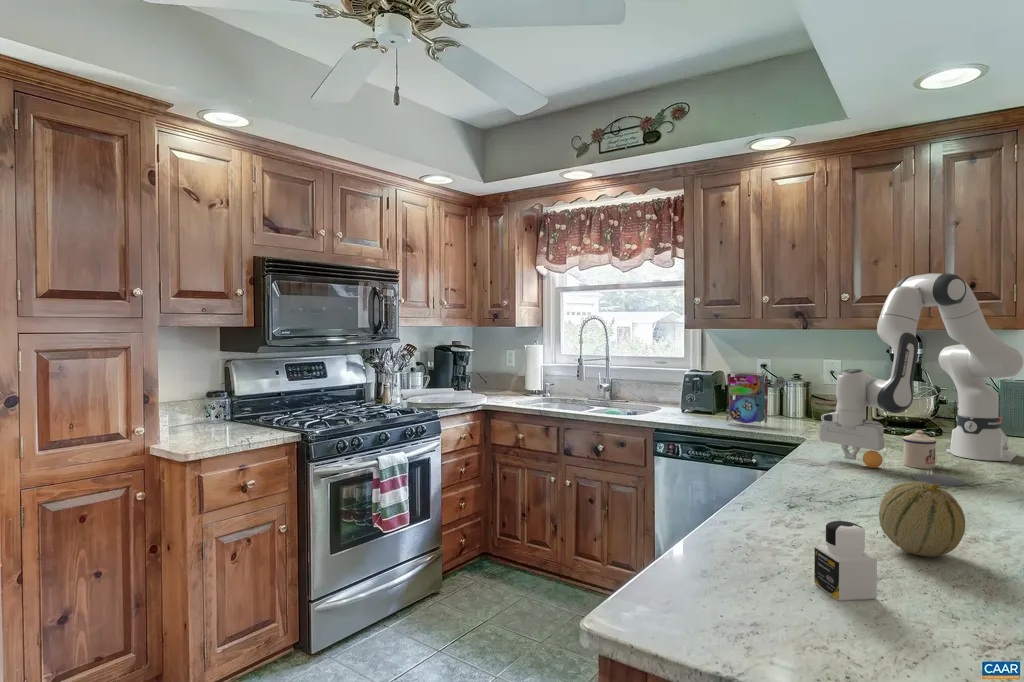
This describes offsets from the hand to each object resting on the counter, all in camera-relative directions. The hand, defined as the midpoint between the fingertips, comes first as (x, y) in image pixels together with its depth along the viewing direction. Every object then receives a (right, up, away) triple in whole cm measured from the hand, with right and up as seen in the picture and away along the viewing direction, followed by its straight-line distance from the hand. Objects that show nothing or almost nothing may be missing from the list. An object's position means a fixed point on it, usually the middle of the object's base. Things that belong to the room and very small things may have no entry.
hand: (850, 459), depth 201 cm
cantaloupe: (-30, -4, -78) cm, 84 cm away
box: (-3, 0, +71) cm, 71 cm away
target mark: (+14, -2, -22) cm, 26 cm away
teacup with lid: (+21, -2, -4) cm, 21 cm away
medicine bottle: (-55, -5, -95) cm, 110 cm away
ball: (+4, +1, -6) cm, 7 cm away
